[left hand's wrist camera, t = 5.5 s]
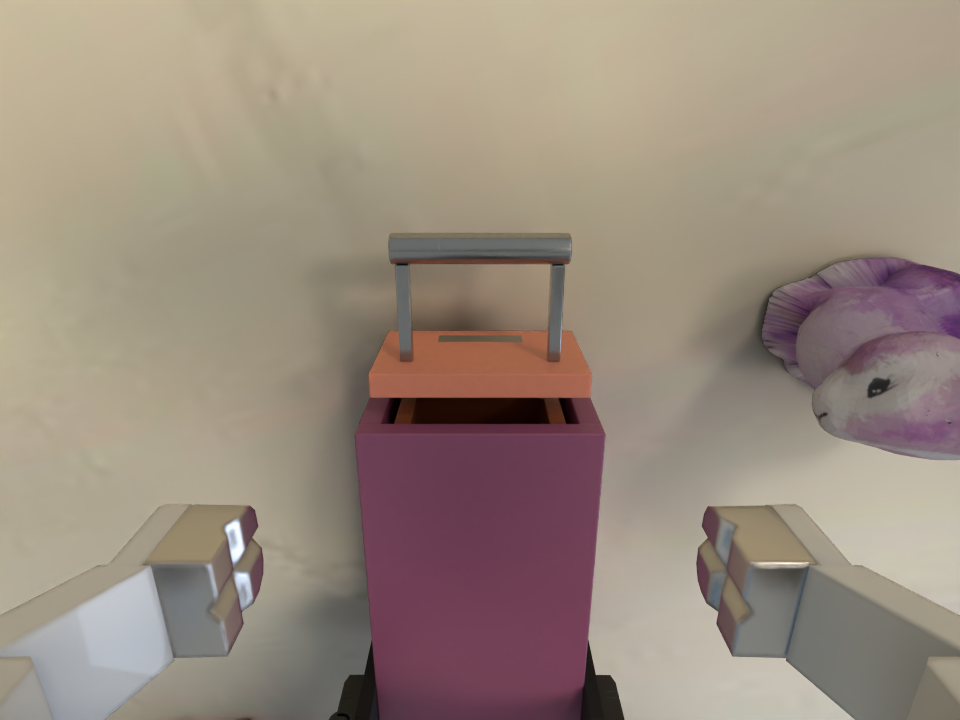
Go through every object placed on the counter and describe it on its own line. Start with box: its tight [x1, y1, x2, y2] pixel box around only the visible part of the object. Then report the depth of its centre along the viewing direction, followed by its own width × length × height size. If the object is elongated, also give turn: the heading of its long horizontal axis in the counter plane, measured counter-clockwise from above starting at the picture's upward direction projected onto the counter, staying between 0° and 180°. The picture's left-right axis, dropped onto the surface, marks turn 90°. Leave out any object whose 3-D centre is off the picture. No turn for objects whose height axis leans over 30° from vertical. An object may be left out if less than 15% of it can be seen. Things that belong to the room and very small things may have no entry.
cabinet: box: [355, 398, 605, 720], centre depth 34 cm, size 21×11×8 cm, turn 0°
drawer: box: [368, 233, 592, 424], centre depth 32 cm, size 25×10×6 cm, turn 0°
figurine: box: [762, 258, 960, 460], centre depth 26 cm, size 9×10×15 cm
